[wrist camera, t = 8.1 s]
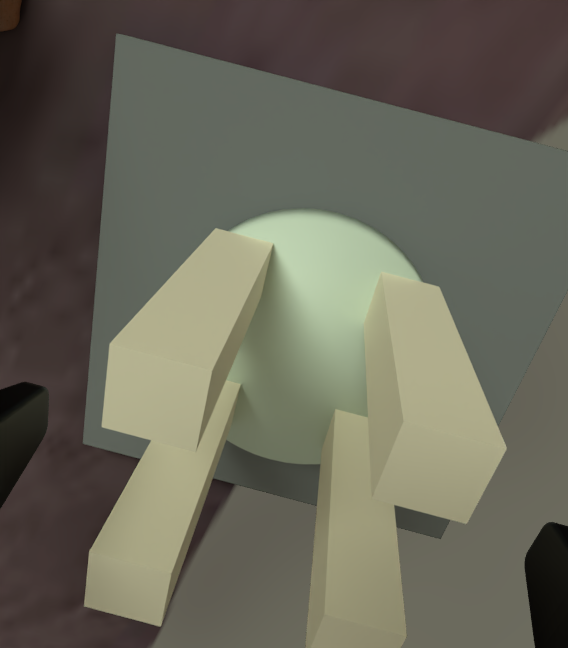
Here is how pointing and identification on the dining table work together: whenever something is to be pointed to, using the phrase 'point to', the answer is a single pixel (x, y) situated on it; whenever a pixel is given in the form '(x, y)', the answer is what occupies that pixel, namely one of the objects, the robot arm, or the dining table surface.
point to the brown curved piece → (9, 14)
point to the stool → (294, 412)
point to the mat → (326, 194)
